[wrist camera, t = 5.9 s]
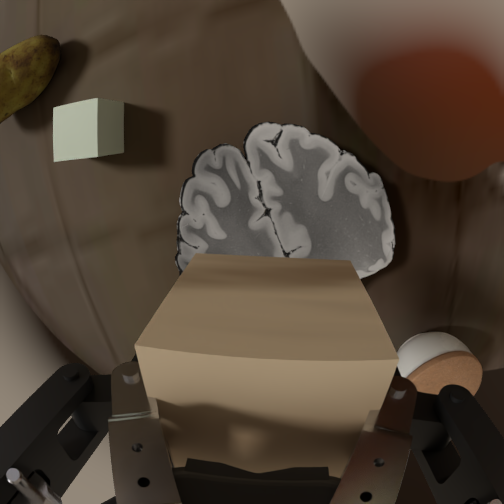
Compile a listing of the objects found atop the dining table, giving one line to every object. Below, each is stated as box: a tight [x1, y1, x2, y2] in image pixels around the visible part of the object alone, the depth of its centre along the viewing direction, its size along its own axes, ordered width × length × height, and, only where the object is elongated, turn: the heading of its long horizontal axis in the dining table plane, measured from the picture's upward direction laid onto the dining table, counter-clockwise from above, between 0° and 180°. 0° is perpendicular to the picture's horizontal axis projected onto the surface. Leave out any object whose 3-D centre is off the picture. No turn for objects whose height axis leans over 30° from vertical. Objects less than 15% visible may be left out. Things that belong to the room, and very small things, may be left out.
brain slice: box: [175, 122, 395, 279], centre depth 27 cm, size 20×17×3 cm
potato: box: [0, 35, 61, 123], centre depth 21 cm, size 8×13×8 cm, turn 95°
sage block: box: [53, 98, 124, 162], centre depth 24 cm, size 5×5×5 cm
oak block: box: [135, 253, 399, 478], centre depth 10 cm, size 6×6×6 cm
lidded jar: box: [397, 332, 482, 396], centre depth 28 cm, size 11×11×9 cm
